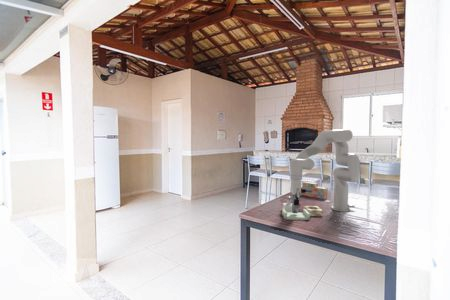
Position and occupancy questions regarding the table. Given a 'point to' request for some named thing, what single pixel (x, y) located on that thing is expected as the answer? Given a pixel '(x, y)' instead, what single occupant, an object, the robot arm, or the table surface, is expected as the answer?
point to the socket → (314, 210)
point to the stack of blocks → (314, 190)
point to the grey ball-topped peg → (288, 200)
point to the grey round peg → (294, 206)
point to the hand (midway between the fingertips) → (295, 203)
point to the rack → (296, 215)
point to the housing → (287, 207)
